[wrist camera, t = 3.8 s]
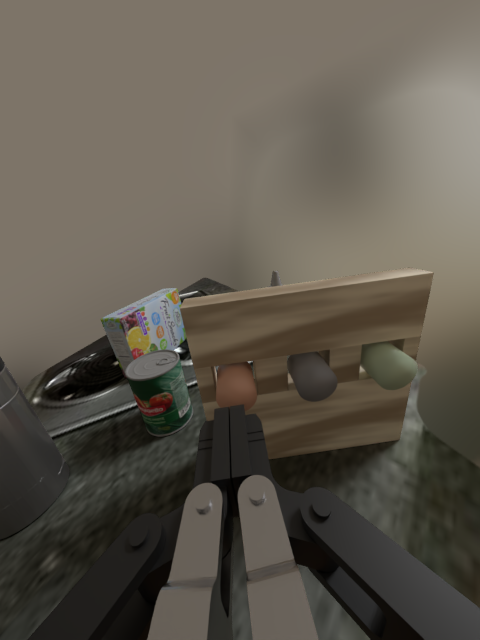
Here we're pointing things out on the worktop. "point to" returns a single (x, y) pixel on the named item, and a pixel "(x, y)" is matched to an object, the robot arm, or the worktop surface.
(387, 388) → the sage button
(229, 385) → the terracotta button
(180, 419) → the canned tomato
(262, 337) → the button panel
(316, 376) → the grey button
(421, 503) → the worktop surface
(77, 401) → the worktop surface
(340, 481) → the worktop surface
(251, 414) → the robot arm
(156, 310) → the snack box
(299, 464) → the worktop surface
